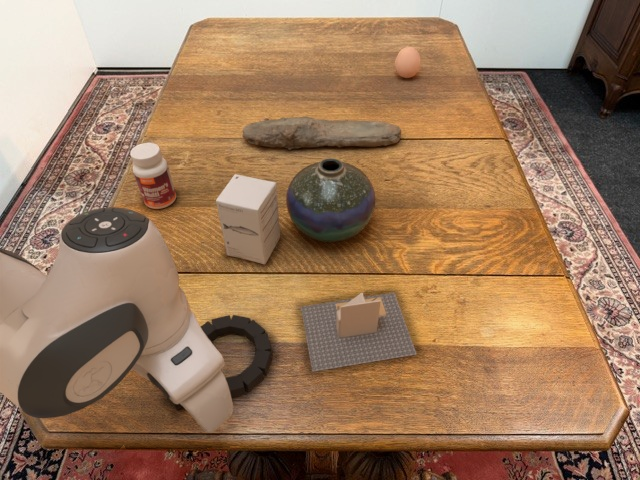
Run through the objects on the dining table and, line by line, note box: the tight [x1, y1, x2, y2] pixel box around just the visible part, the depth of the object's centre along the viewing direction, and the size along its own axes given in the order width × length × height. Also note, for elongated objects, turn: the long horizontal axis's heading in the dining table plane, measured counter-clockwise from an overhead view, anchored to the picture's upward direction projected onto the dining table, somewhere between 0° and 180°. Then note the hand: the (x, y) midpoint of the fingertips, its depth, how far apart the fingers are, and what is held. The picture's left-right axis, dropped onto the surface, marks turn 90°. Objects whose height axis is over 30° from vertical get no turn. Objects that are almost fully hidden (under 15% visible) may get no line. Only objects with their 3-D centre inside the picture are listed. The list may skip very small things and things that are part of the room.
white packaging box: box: [215, 173, 281, 265], centre depth 78 cm, size 7×7×13 cm
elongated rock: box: [241, 116, 402, 151], centre depth 104 cm, size 35×5×10 cm
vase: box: [285, 157, 376, 243], centre depth 81 cm, size 15×15×13 cm
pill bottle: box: [129, 142, 177, 210], centre depth 87 cm, size 6×6×11 cm
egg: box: [394, 46, 422, 79], centre depth 123 cm, size 7×7×8 cm
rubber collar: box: [166, 314, 273, 411], centre depth 65 cm, size 15×12×3 cm
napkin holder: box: [335, 292, 387, 338], centre depth 68 cm, size 3×7×7 cm, turn 100°
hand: (181, 389), depth 62 cm, fingers closed on rubber collar, 2 cm apart
